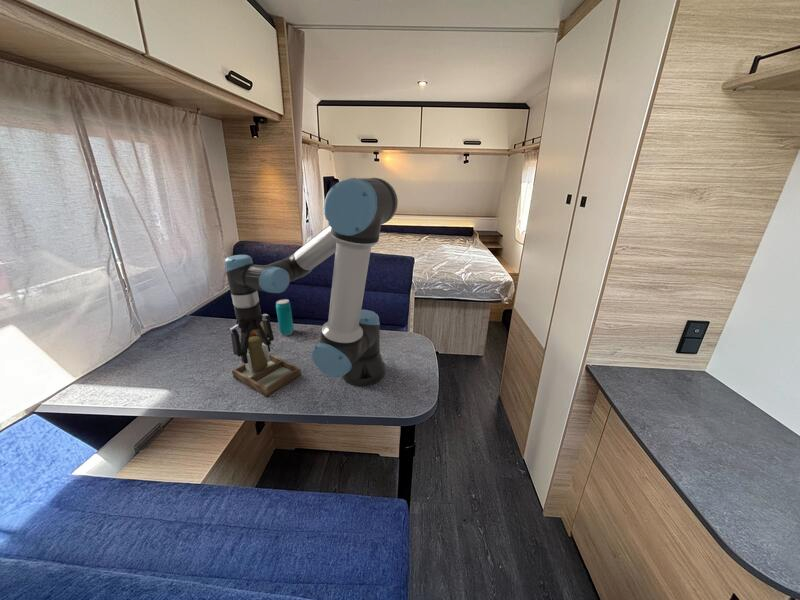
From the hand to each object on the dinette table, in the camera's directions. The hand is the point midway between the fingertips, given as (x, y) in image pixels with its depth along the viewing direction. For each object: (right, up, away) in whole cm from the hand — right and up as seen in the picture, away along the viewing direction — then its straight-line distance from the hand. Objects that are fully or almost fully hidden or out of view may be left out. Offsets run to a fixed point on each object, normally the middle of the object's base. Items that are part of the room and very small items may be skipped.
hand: (258, 365), depth 108 cm
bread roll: (-13, +7, +26) cm, 30 cm away
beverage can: (0, +8, +28) cm, 29 cm away
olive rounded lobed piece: (0, -1, 0) cm, 1 cm away
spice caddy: (+4, -4, -1) cm, 5 cm away
